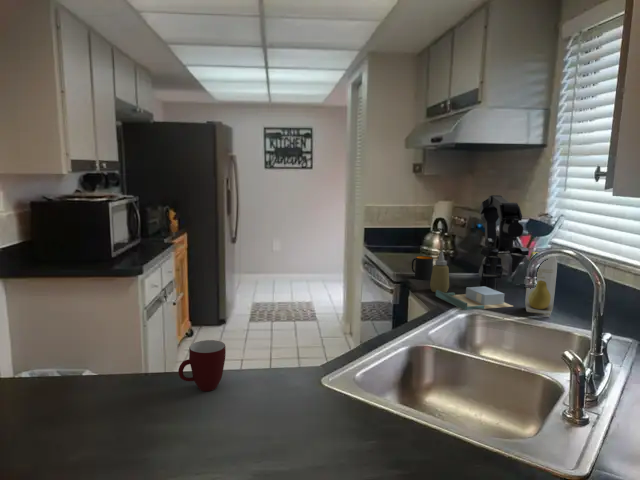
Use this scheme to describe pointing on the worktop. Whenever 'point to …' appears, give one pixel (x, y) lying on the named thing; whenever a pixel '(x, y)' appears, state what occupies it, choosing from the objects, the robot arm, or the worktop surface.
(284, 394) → the worktop surface
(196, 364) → the mug
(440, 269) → the squeeze bottle
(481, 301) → the carton
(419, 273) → the mug
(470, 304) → the display board
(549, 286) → the juice carton
